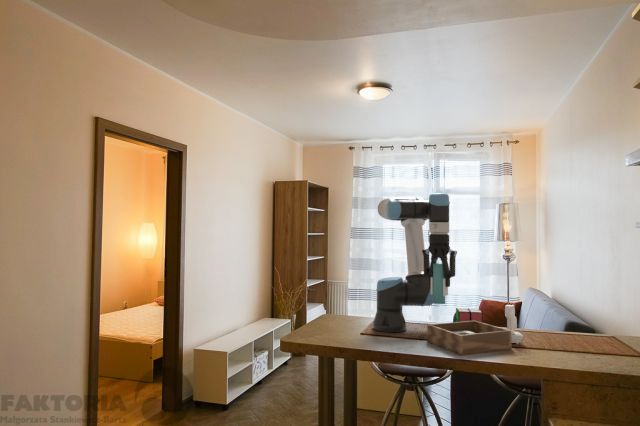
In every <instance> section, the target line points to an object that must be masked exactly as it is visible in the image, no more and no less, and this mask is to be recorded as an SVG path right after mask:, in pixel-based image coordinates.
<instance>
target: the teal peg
mask: <svg viewBox="0 0 640 426" xmlns="http://www.w3.org/2000/svg"><path fill="white" fill-rule="evenodd" d="M444 277H445V275H444V270H443V266H442V262H436V263H434V264H433V304H437V305H445V304H446V296H443V278H444Z"/></svg>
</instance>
